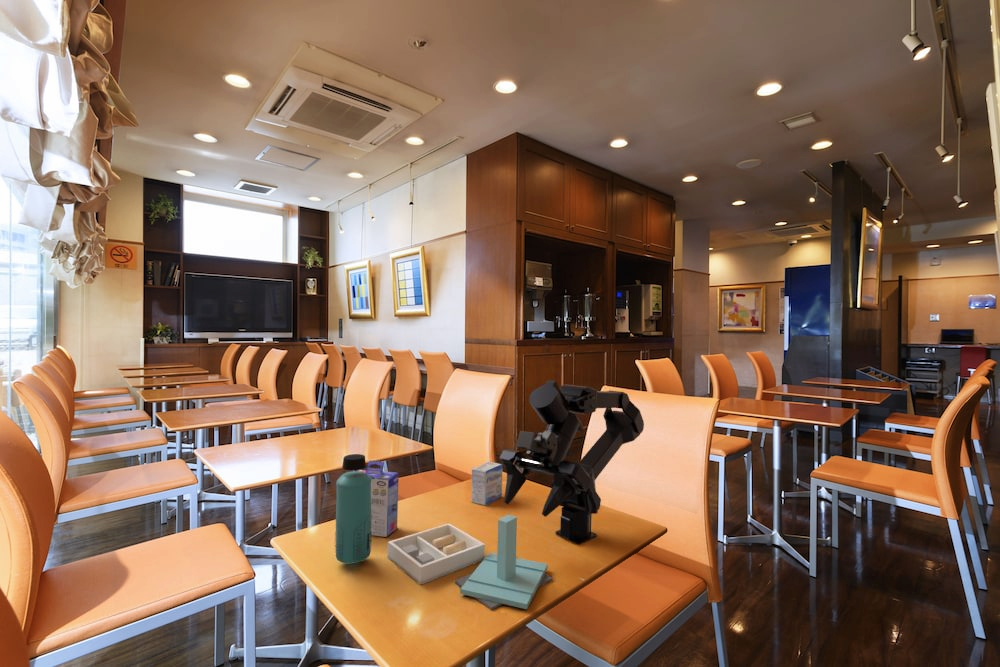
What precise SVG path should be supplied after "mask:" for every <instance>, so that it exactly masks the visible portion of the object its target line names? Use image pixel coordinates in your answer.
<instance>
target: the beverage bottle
mask: <svg viewBox="0 0 1000 667" xmlns="http://www.w3.org/2000/svg"><path fill="white" fill-rule="evenodd" d="M366 462H367V461H366V456H365V455H364V454H361V453H360V454H359V453H352V454H347V455H344V456H343V461H342V466H341V467H342V470H345V471H346V472H344V473H343V474H342V475H340V477H338V478H337V480H336V482H335V484H336V505H335V506H336V508H335V513H334V514H335V525H334V526H335V532H334V533H335V547H334V550H335V557H336V560H337V561H339V563H342V564H343V563H344V564H357V563H360V562H363V561H365V560H367V559H368V558H369V557H370V555H371V553H372V547H373V541H372V540H373V539H372V538H373V535H372V533H371V532H372V531H371V527H372V526H371V525H372V524H371V522H372V521H371V520H372V519H371V517H372V514H371V501H372V500H371V481H372V479H371V477H370V476H369V475H368V474H366V473H365V472H362V471H358V470H364V469H365V468H367V465H366V464H367V463H366Z"/></svg>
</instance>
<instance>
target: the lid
mask: <svg viewBox="0 0 1000 667" xmlns="http://www.w3.org/2000/svg"><path fill="white" fill-rule="evenodd" d="M517 525H518V518H517V516H515V515H511V514H507V515H504V516H503V517H501V518H499V519H497V549H496V550H497V553H493V552H488V554H487V555H486V556H484V560H483V561H480V562H481V563H479V565H478V566H477V567H476V569H475V570H474V571H473V572H472V573H473V574H472V573H471V574H472V575H471V576H470V577H469V578H468V580H467V581H466V582H465V584H464V585H463V586H462V587H460V589H459V590H460V592H459V594H461V595H463V596H469V597H471V598H472V597H476V598H480V599H485V600H489V601H493V602H497V603H502V604H503V605H507V606H511V607H514V608H520V609H524V610H528V608H529V606H530V604H531V602H532V600H533V598H534V596H535V594H536V592H537V589H538V588H539V587H538V586H539V584H540V582H541V580H542V578H543V576H544V574H546V572H547V570H548V563H544V562H539V561H536V560H535V561H533V560H529V559H525V558H519V557H517V535H518V534H517V531H518V528H517V527H518V526H517ZM516 557H517V558H516ZM476 598H475V599H476Z"/></svg>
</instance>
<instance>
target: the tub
mask: <svg viewBox="0 0 1000 667" xmlns="http://www.w3.org/2000/svg"><path fill="white" fill-rule="evenodd" d="M485 545H486V544H485V543H483V541H480V540H479V539H477V538H475V537H473V536H472V535H470V534H468V533H466V532H465V531H463V530H462V529H460V528H458V527H456V526H454V525H452V524H451V523H449V522H448V523H445V524H442V525H439V526H435V527H432V528H429V529H425V530H422V531H420V532H416V533H412V534H409V535H406V536H402V537H400V538H396V539H393V540H390V541H387V559H389V561H391V562H392V563H393V562H394V563H393V564H395V565H396V566H397V567H398V568H399V569H401V570H402V571H403V572H404V573H405V574H407V575H408V576H409V577H410V578H411V579H413V580H414V581H415V582H416V583H417V582H418V584H419V586H421V584H422V585H424V584H426V582H427V583H430V582H432V581H434V580H436V579H439V578H441V577H444V576H447V575H449V574H452V573H455V572H457V571H460V570H461V569H464V567H465V568H468V567H470V566H472V565H471V564H473V565H475V564H478V563H479V562H482V561H483V560H484V559H485V557H486V556H485V554H486V553H485V552H486V551H485V548H486V546H485ZM477 562H478V563H477ZM474 563H475V564H474ZM469 565H470V566H469ZM467 566H468V567H467ZM454 571H455V572H454Z"/></svg>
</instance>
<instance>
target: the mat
mask: <svg viewBox="0 0 1000 667" xmlns="http://www.w3.org/2000/svg"><path fill="white" fill-rule="evenodd" d="M516 558H518V557H517V556H516ZM472 574H473V572H472V573H470V574H466V575H464V576H462V577H460V578H457V579H455V580H454V584H456V585H457V586H459V587H460V588H461V587H462V586H463V585H464V584H465V582H466V581H467V580H468V578H469V577H470V576H471V575H472ZM552 581H554V580H553V576H550V575H549V574H547V573H545V574H544V576H543V578H542V580H541V582H540V584H539V586H538V588H539V587H542V586H543V585H546V584H547V583H550V582H552ZM474 598H475V599H476V600H477V601H478V602H480V603H481V604H482V605H484V606H485V607H487V608H488V609H489V610H491V611H492V610H495V609H497V608H499V607H500V606H502V605H504V604H502V603H497V602H493V601H489V600H485V599H480V598H476V597H474Z"/></svg>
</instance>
